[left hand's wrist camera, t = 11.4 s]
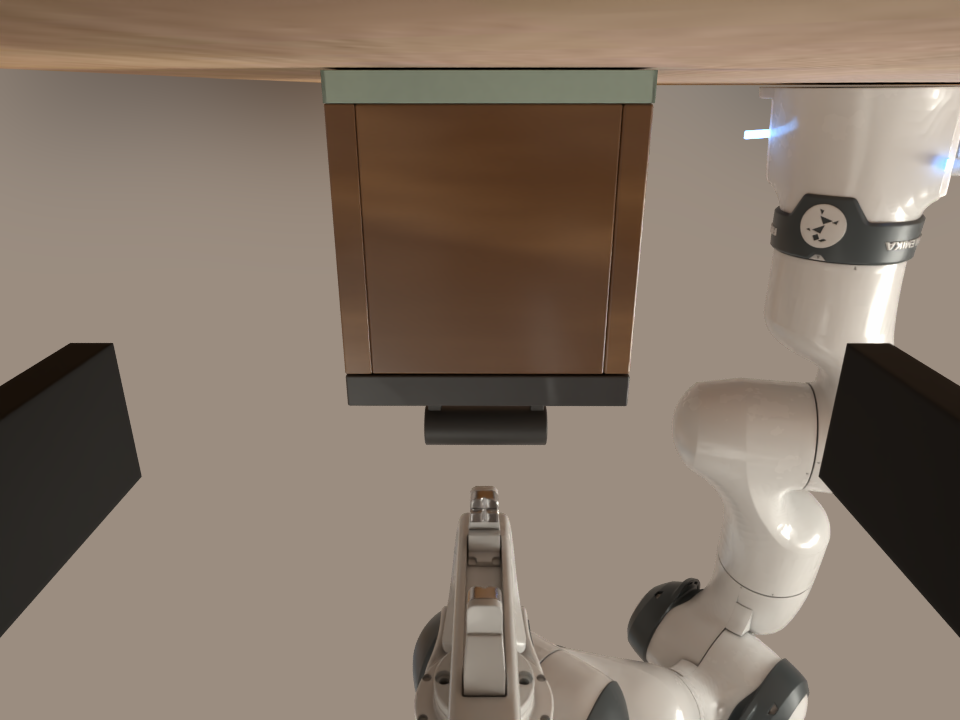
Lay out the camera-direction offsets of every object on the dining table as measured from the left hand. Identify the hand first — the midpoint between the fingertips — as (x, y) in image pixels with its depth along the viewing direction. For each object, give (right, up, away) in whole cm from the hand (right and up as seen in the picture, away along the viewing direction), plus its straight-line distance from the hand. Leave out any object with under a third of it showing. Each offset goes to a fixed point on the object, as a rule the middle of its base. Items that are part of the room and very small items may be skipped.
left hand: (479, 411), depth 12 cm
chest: (0, +12, +13) cm, 17 cm away
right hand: (0, -9, +26) cm, 27 cm away
